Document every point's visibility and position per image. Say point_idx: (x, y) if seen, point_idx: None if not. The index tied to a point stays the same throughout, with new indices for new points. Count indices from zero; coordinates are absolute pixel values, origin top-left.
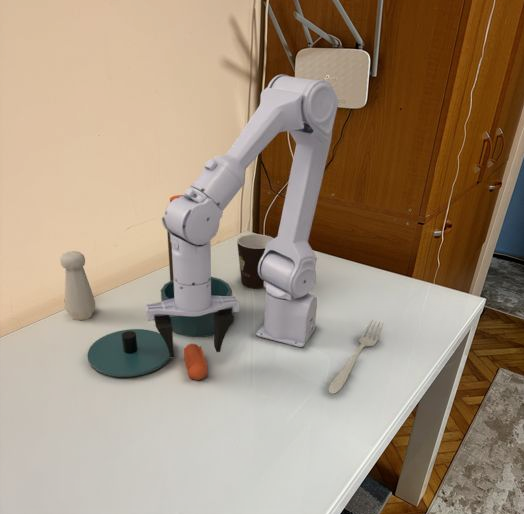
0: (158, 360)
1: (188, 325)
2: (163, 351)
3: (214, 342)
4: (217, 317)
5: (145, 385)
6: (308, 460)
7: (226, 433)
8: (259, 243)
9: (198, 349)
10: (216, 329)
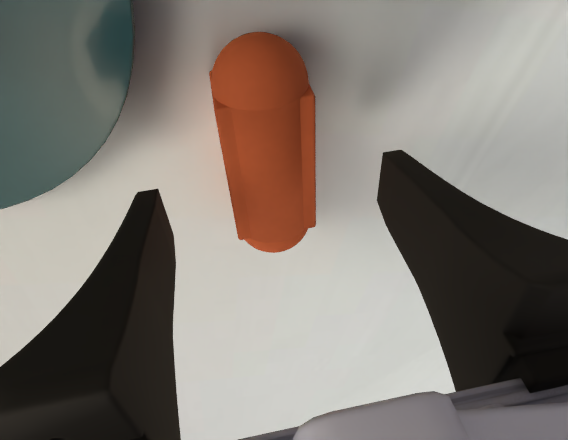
0: (72, 123)
1: None
2: (78, 35)
3: (392, 180)
4: (478, 382)
5: (57, 225)
6: (428, 375)
7: (308, 349)
8: None
9: (296, 135)
10: (436, 268)
